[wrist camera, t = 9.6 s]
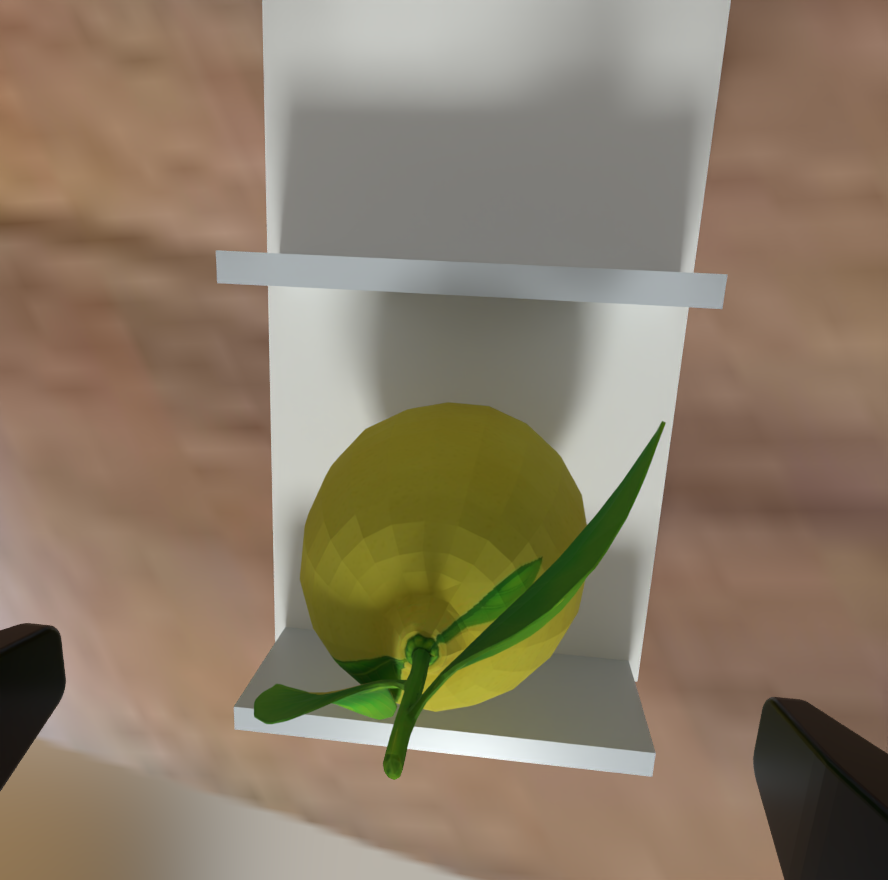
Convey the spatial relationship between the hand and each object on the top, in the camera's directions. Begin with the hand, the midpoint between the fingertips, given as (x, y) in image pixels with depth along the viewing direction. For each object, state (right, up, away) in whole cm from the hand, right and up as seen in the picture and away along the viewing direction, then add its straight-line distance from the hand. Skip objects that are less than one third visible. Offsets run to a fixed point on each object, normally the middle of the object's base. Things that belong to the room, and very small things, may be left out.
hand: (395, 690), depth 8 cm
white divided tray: (+1, +7, +8) cm, 11 cm away
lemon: (+1, +2, +9) cm, 9 cm away
